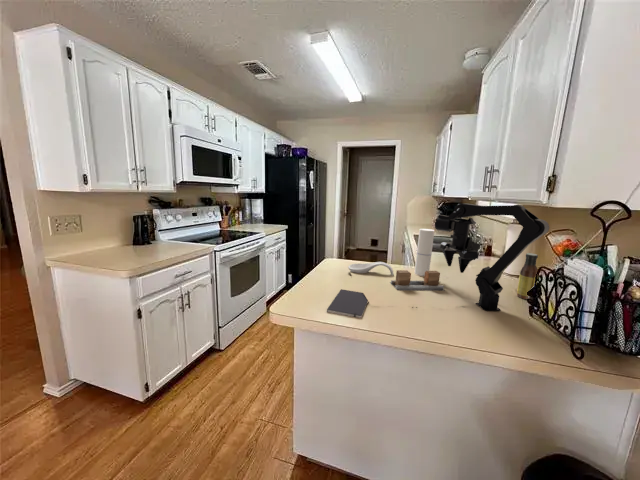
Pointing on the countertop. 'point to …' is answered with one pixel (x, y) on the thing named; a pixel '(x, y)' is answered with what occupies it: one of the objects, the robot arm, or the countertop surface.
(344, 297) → the notebook
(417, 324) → the countertop surface
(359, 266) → the spoon rest
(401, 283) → the fixed walnut finger
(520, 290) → the sauce bottle
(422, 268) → the cylindrical container
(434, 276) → the brown wooden block
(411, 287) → the rail
